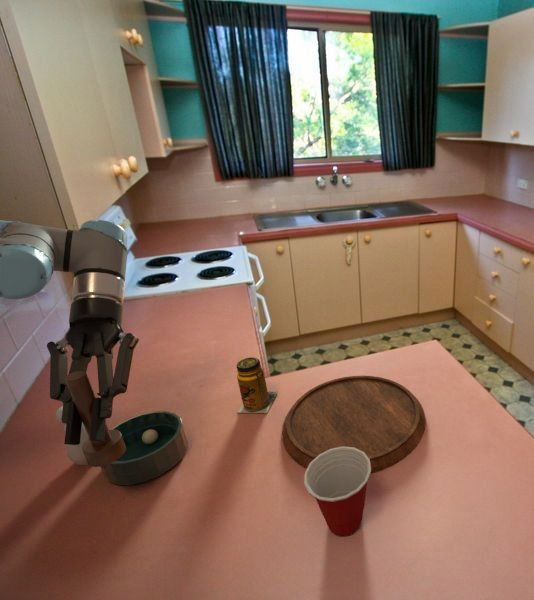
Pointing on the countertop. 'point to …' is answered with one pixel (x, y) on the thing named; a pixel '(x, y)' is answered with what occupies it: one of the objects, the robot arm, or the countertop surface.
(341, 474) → the plastic cup
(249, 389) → the condiment
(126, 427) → the bowl
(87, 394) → the wooden masher
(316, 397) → the cutting board
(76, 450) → the salt shaker
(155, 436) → the cream ball
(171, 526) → the countertop surface
